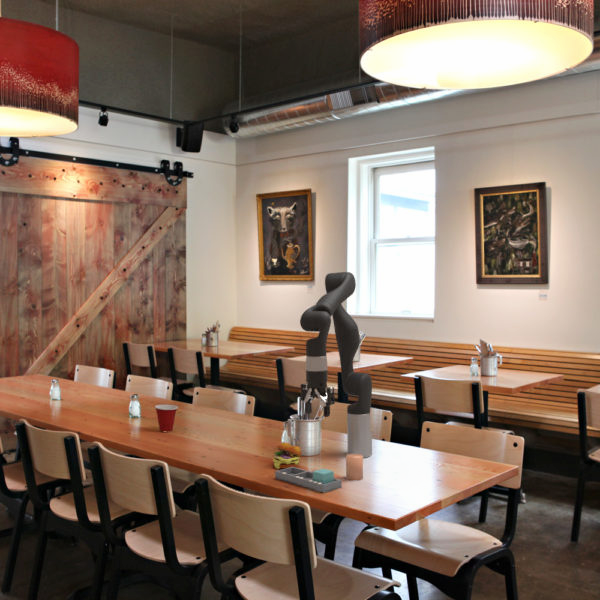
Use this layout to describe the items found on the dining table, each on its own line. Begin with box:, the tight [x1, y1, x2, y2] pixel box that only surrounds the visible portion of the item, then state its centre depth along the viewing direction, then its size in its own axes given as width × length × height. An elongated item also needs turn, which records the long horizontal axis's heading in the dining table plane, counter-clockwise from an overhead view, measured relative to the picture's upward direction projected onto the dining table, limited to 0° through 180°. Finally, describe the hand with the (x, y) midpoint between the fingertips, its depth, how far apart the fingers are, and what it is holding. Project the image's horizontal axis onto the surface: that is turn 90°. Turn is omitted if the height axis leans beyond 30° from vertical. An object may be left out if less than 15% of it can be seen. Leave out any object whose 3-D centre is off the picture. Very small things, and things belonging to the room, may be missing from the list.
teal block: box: [312, 468, 335, 484], centre depth 234 cm, size 5×5×5 cm
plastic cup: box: [154, 404, 179, 432], centre depth 325 cm, size 11×11×12 cm
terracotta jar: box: [345, 454, 364, 481], centre depth 245 cm, size 6×6×8 cm
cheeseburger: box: [272, 442, 303, 470], centre depth 262 cm, size 10×11×10 cm
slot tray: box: [274, 467, 343, 494], centre depth 239 cm, size 9×24×3 cm, turn 44°
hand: (317, 415), depth 240 cm, fingers open, 8 cm apart
